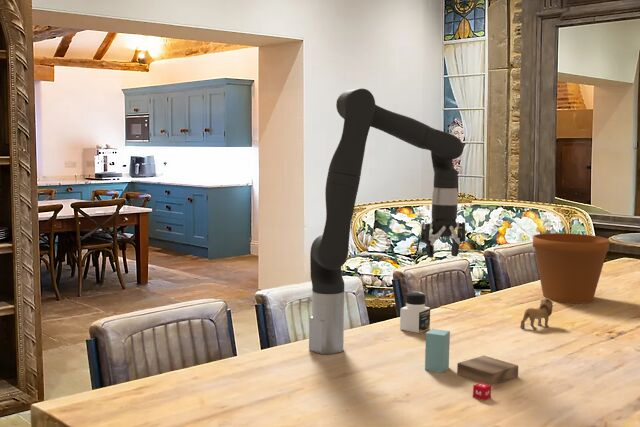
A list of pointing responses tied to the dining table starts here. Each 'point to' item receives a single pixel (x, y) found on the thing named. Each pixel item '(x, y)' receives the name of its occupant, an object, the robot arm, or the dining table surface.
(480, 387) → the dice
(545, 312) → the lion figurine
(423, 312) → the medicine bottle
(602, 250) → the flowerpot
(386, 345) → the dining table surface
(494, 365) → the walnut base plate
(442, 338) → the teal pillar block
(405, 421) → the dining table surface
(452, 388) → the dining table surface
